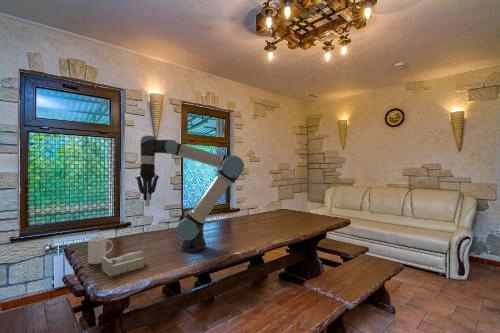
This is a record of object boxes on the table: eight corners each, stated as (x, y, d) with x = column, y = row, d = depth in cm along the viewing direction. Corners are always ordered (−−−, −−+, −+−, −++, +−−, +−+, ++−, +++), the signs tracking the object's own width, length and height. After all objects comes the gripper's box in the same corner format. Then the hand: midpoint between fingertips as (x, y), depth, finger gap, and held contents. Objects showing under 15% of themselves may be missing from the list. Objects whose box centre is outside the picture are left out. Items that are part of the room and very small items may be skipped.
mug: (111, 255, 147) (111, 234, 147) (114, 260, 141) (114, 238, 140) (86, 260, 140) (87, 237, 140) (88, 265, 134) (88, 241, 133)
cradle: (134, 261, 140) (134, 249, 140) (143, 266, 133) (143, 254, 133) (101, 270, 128) (101, 257, 128) (109, 276, 121) (110, 262, 121)
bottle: (139, 250, 141) (110, 257, 130) (143, 250, 137) (114, 257, 127) (140, 260, 140) (111, 268, 129) (144, 260, 136) (115, 268, 126)
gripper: (155, 163, 154) (154, 203, 155) (133, 163, 145) (132, 206, 145) (161, 163, 149) (161, 205, 150) (139, 163, 140) (138, 208, 140)
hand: (147, 205), depth 147 cm, fingers closed
